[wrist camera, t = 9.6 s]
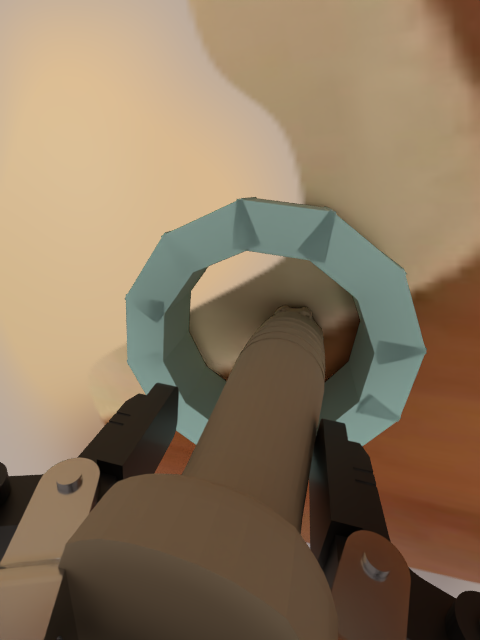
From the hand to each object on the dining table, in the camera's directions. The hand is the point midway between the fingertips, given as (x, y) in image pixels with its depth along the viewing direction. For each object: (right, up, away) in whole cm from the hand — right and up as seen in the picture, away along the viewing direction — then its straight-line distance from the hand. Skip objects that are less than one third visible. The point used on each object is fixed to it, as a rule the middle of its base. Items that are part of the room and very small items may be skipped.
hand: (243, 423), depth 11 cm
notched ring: (+2, +3, +8) cm, 9 cm away
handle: (+3, +3, +8) cm, 9 cm away
